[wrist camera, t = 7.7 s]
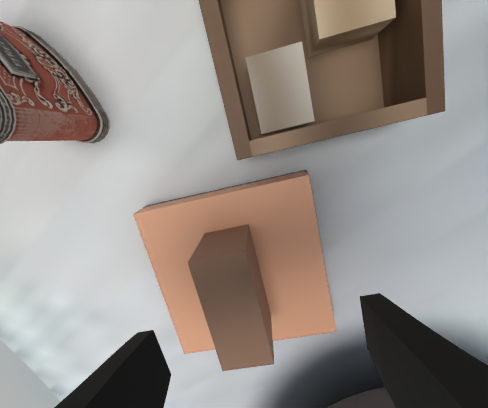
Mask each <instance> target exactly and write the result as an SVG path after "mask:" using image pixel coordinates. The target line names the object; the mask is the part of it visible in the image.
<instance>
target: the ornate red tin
mask: <svg viewBox="0 0 488 408" xmlns="http://www.w3.org/2000/svg"><path fill="white" fill-rule="evenodd" d="M108 130H109V120H108V117H107V115H106V113H105V112H104V110H103V108H102V107H101V105H100V103H99V102H98V100H97V98H96V97H95V95H94V94H93V92H92V91H91V90H90V88H89V87H88V86H87V84H86V83H85V82H84V81H83V79H82V78H81V77H80V75H79V74H78V73H77V72H76V71H75V69H74V68H73V67H72V66H71V65H70V64H69V63H68V62H67V61H66V60H65V59H64V58H63V57H62V56H61V55H60V54H59V53H58V52H57V51H56V50H54V49H53V48H52V47H51V46H50V45H49V44H47V43H46V42H45V41H44V40H43V39H41V38H40V37H39V36H38V35H36V34H34V33H32V32H30V31H28V30H26V29H24V28H22V27H19V26H9V25H7V24H5V23H3V22H1V21H0V144H2V143H4V142H5V141H61V140H76V141H77V142H80V143H95V142H99V141H101V140H102V139H104V138H105V136H106V135H107V133H108Z"/></svg>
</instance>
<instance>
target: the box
mask: <svg viewBox="0 0 488 408" xmlns="http://www.w3.org/2000/svg"><path fill="white" fill-rule="evenodd" d="M199 3H200V8H201V12H202V16H203V20H204V24H205V28H206V32H207V37H208V41H209V45H210V49H211V53H212V57H213V62H214V66H215V70H216V74H217V78H218V82H219V86H220V91H221V95H222V99H223V103H224V107H225V111H226V115H227V120H228V124H229V128H230V132H231V136H232V140H233V144H234V149H235V153H236V157H237V160H241V159H245V158H249V157H254V156H258V155H262V154H266V153H270V152H275V151H279V150H283V149H287V148H291V147H296V146H300V145H304V144H308V143H313V142H317V141H321V140H325V139H329V138H334V137H338V136H342V135H346V134H350V133H355V132H359V131H363V130H367V129H372V128H376V127H380V126H384V125H388V124H393V123H397V122H401V121H405V120H409V119H414V118H418V117H422V116H426V115H431V114H435V113H439V112H443V111H445V88H444V58H443V28H442V0H199Z"/></svg>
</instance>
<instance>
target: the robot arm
mask: <svg viewBox="0 0 488 408" xmlns="http://www.w3.org/2000/svg"><path fill="white" fill-rule="evenodd" d="M360 301H361V308H362V315H363V322H364V328H365V335H366V342H367V348H368V350H369V353H370V355H371V357H372V360H373V362H374V365H375V367H376V369H377V371H378V374H379V376H380V378H381V380H382V383H383V385H384V387H385V388H386V390H387V392H388V394H389V396H390V398H391V399H392V401H393V403H394V405H395V407H396V408H488V365H486V364H484V363H483V362H481V361H479V360H478V359H476V358H474V357H473V356H471V355H470V354H468V353H467V352H465V351H463V350H462V349H460V348H459V347H457V346H456V345H454V344H453V343H451V342H450V341H448V340H447V339H445V338H443V337H442V336H440V335H439V334H437V333H436V332H434V331H433V330H431V329H430V328H428V327H427V326H426V325H424V324H423V323H421V322H420V321H418V320H417V319H415V318H414V317H413V316H411V315H410V314H408V313H407V312H405V311H404V310H403V309H401V308H400V307H398V306H397V305H396V304H394V303H393V302H391V301H390V300H388V299H387V298H386V297H384V296H383V295H381V294H380V293H379V294H373V295H366V296H360ZM170 377H171V373H170V370H169V368H168V365H167V363H166V360H165V358H164V355H163V353H162V350H161V348H160V346H159V343H158V341H157V338H156V336H155V333H154V331H153V330H151V331H145V332H138V333H137V334H136V335H134V336H133V337H132V338H131V339H129V340H128V341H127V342H126V343H125V344H124V345H123V346H122V347H120V348H119V349H118V350H117V351H116V352H115V353H114V354H113V355H112V356H111V357H110V358H108V359H107V360H106V361H105V362H104V363H103V364H102V365H101V366H100V367H99V368H98V369H97V370H96V371H94V372H93V373H92V374H91V375H90V376H89V377H88V378H87V379H86V380H85V381H84V382H83V383H81V384H80V385H79V386H78V387H77V388H76V389H75V390H74V391H73V392H72V393H70V394H69V395H68V396H67V397H66V398H65V399H64V400H63V401H61V402H60V403H59V404H58V405H57V406H56V407H55V408H163V407H164V403H165V399H166V395H167V391H168V386H169V382H170Z"/></svg>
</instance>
